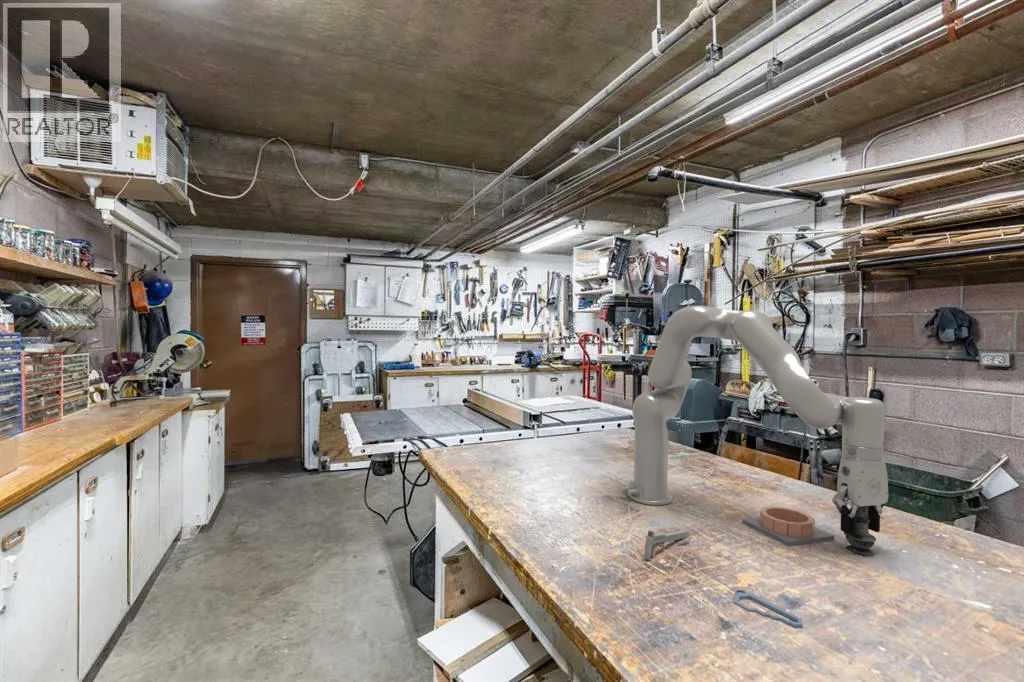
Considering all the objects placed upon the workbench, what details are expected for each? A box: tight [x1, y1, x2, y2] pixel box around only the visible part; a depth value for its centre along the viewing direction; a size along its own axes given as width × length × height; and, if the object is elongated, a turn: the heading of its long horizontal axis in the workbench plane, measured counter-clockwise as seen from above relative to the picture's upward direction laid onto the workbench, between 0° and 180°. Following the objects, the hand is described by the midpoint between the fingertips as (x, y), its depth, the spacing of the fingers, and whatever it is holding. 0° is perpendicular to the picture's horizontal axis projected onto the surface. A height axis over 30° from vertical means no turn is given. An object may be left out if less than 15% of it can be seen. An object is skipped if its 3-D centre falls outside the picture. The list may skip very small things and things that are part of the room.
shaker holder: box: [741, 505, 835, 547], centre depth 117 cm, size 14×14×4 cm
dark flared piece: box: [843, 506, 877, 557], centre depth 106 cm, size 6×6×12 cm
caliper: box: [643, 529, 692, 562], centre depth 107 cm, size 20×1×6 cm, turn 135°
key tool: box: [733, 588, 803, 629], centre depth 82 cm, size 12×1×5 cm
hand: (859, 530), depth 106 cm, fingers open, 6 cm apart
